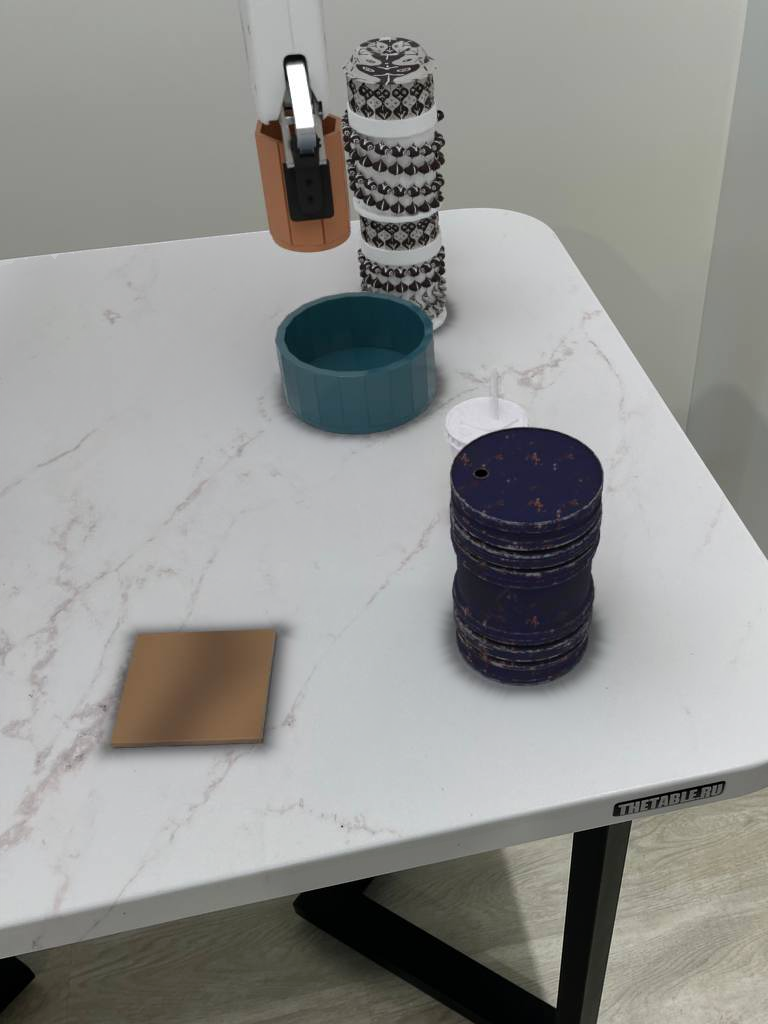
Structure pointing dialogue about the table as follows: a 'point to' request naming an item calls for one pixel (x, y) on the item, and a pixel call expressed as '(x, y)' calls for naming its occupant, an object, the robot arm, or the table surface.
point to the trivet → (196, 689)
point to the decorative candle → (396, 171)
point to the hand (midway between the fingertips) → (306, 194)
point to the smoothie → (482, 417)
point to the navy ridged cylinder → (524, 552)
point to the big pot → (357, 362)
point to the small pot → (281, 227)
